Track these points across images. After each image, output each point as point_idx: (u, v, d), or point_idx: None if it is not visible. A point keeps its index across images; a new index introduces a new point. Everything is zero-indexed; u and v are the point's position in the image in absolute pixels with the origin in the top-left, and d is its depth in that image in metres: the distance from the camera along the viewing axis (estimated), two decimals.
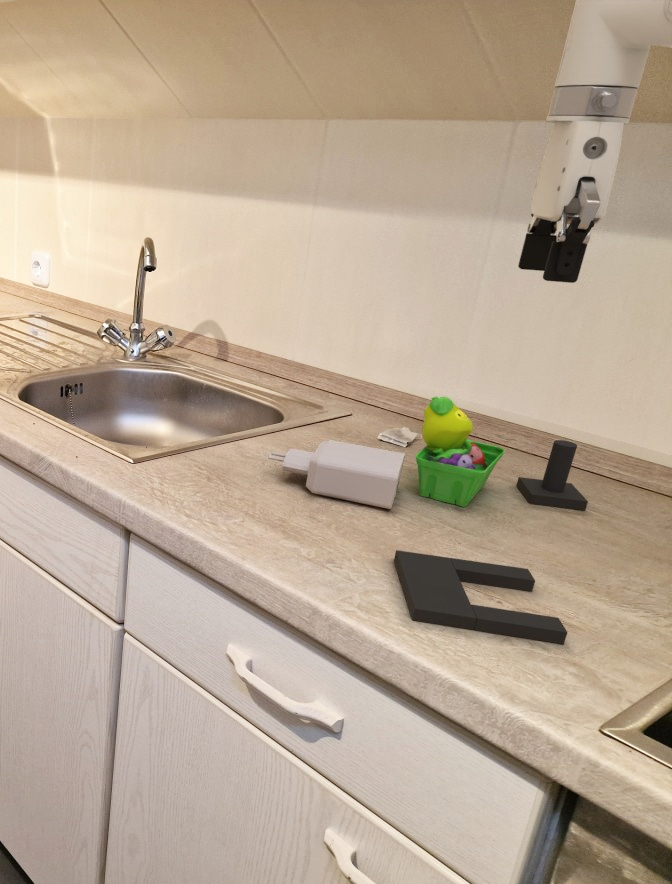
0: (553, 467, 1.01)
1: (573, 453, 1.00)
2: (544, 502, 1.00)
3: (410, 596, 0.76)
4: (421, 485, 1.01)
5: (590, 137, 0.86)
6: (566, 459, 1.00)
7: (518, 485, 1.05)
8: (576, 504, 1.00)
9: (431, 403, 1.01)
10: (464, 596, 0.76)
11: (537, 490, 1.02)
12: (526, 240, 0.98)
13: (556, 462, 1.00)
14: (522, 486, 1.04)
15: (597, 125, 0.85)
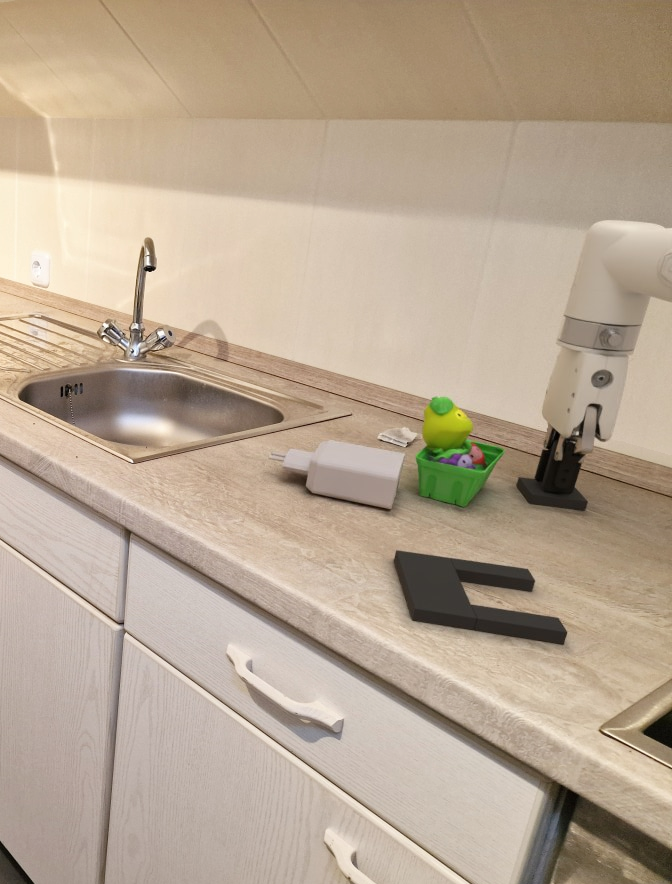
0: None
1: None
2: (544, 502, 1.00)
3: (410, 596, 0.76)
4: (421, 485, 1.01)
5: (597, 369, 0.93)
6: None
7: (518, 485, 1.05)
8: (576, 504, 1.00)
9: (431, 403, 1.01)
10: (464, 596, 0.76)
11: (537, 490, 1.02)
12: (542, 456, 1.03)
13: None
14: (522, 486, 1.04)
15: (604, 359, 0.92)
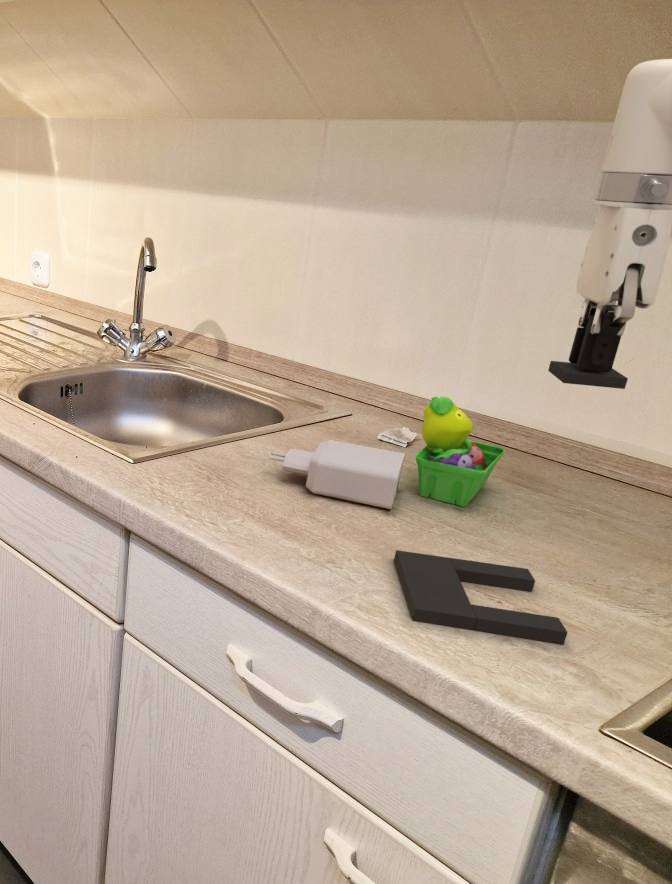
0: None
1: None
2: (579, 381, 0.93)
3: (410, 596, 0.76)
4: (421, 485, 1.01)
5: (639, 224, 0.85)
6: None
7: (551, 369, 0.98)
8: (615, 382, 0.92)
9: (431, 403, 1.01)
10: (464, 596, 0.76)
11: (571, 370, 0.94)
12: (577, 334, 0.95)
13: None
14: (555, 368, 0.96)
15: (646, 213, 0.85)
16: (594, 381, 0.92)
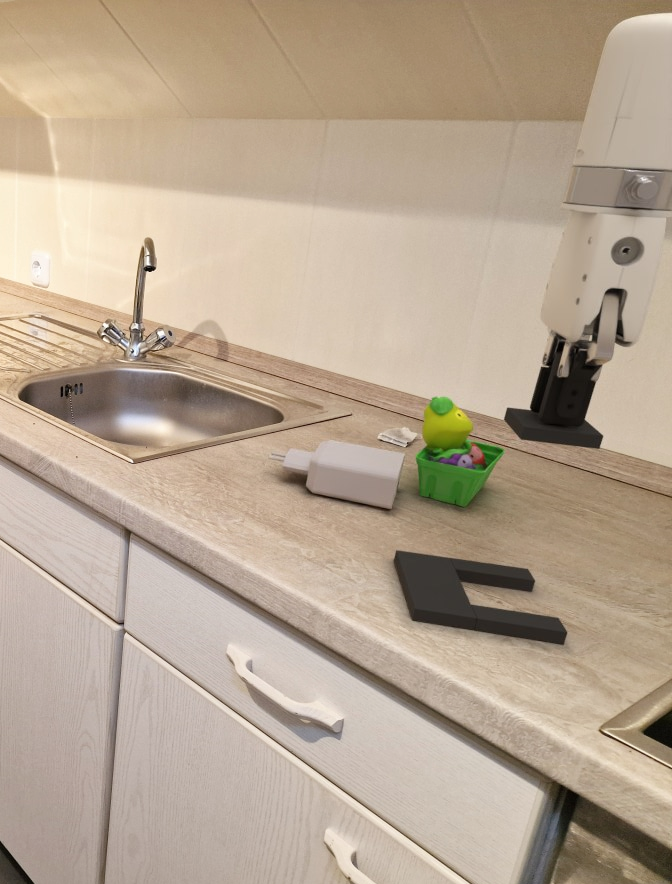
0: None
1: None
2: (541, 437, 0.71)
3: (410, 596, 0.76)
4: (421, 485, 1.01)
5: (621, 237, 0.64)
6: None
7: (507, 419, 0.76)
8: (587, 440, 0.71)
9: (431, 403, 1.01)
10: (464, 596, 0.76)
11: (532, 422, 0.73)
12: (541, 376, 0.74)
13: None
14: (511, 418, 0.75)
15: (630, 221, 0.63)
16: (560, 438, 0.71)
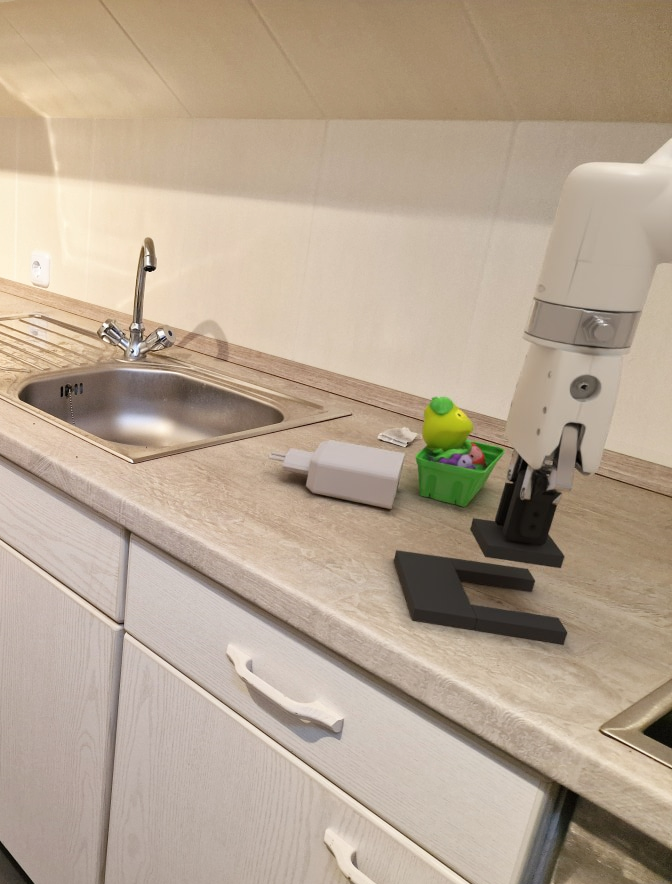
0: None
1: None
2: (505, 556, 0.73)
3: (410, 596, 0.76)
4: (421, 485, 1.01)
5: (579, 374, 0.65)
6: None
7: (472, 530, 0.78)
8: (548, 559, 0.72)
9: (431, 403, 1.01)
10: (464, 596, 0.76)
11: (496, 539, 0.74)
12: (505, 492, 0.75)
13: None
14: (477, 532, 0.77)
15: (588, 360, 0.65)
16: (523, 557, 0.73)
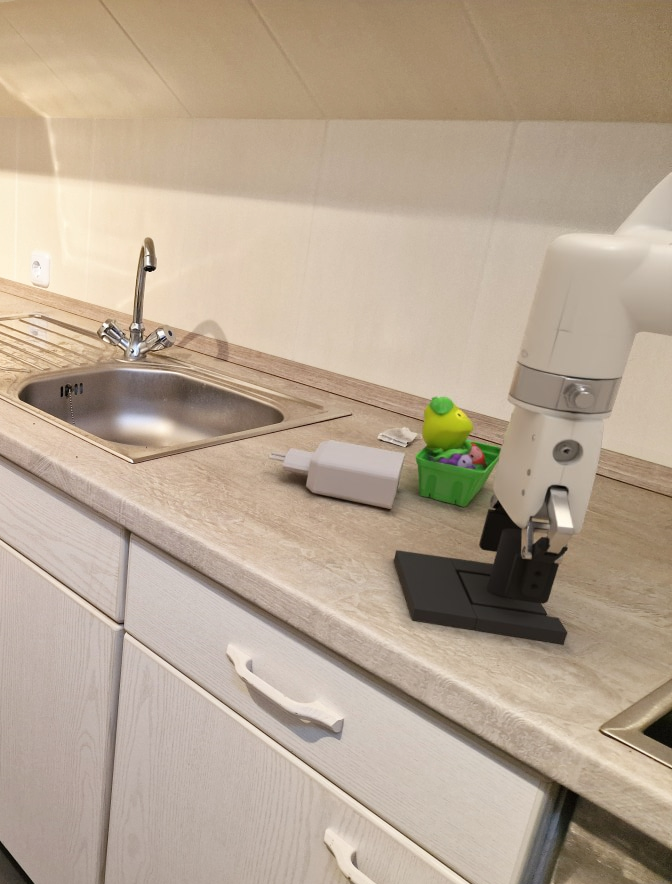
0: (502, 565, 0.75)
1: None
2: None
3: (410, 596, 0.76)
4: (421, 485, 1.01)
5: (561, 439, 0.67)
6: None
7: None
8: None
9: (431, 403, 1.01)
10: (464, 596, 0.76)
11: (481, 595, 0.76)
12: (488, 518, 0.80)
13: (505, 559, 0.75)
14: (463, 586, 0.79)
15: (570, 425, 0.67)
16: None
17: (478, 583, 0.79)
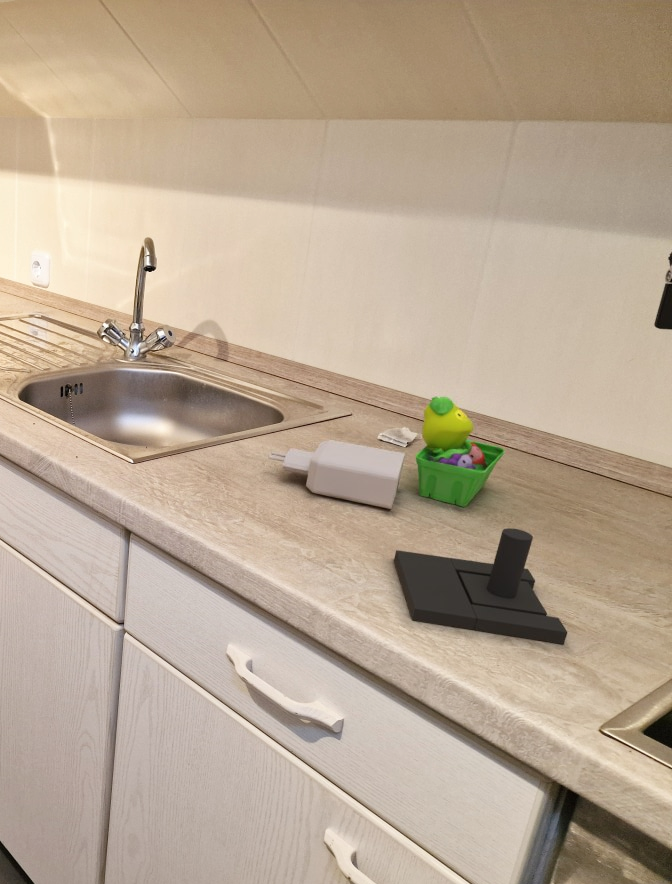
0: (502, 565, 0.75)
1: (527, 548, 0.74)
2: None
3: (410, 596, 0.76)
4: (421, 485, 1.01)
5: None
6: (518, 556, 0.75)
7: None
8: None
9: (431, 403, 1.01)
10: (464, 596, 0.76)
11: (481, 595, 0.76)
12: (666, 292, 0.76)
13: (505, 559, 0.75)
14: (463, 586, 0.79)
15: None
16: None
17: (478, 583, 0.79)
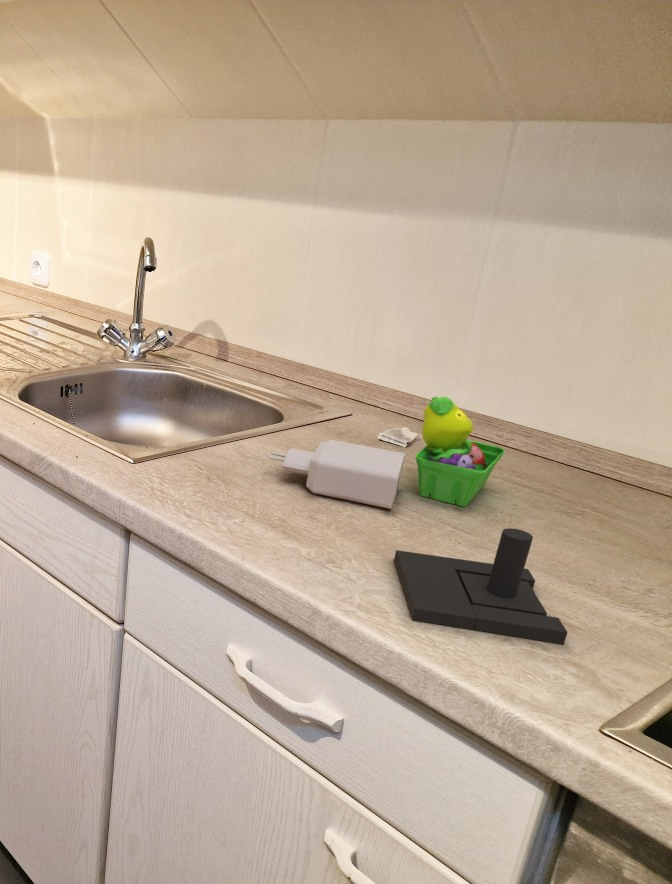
0: (502, 565, 0.75)
1: (527, 548, 0.74)
2: None
3: (410, 596, 0.76)
4: (421, 485, 1.01)
5: None
6: (518, 556, 0.75)
7: None
8: None
9: (431, 403, 1.01)
10: (464, 596, 0.76)
11: (481, 595, 0.76)
12: None
13: (505, 559, 0.75)
14: (463, 586, 0.79)
15: None
16: None
17: (478, 583, 0.79)
